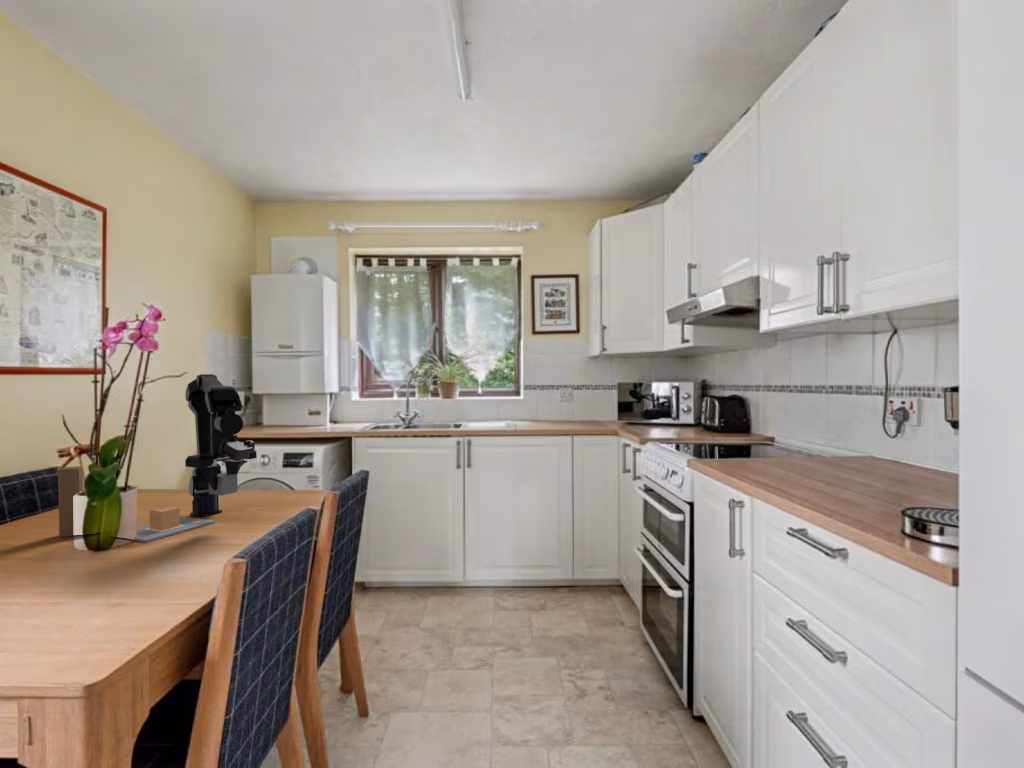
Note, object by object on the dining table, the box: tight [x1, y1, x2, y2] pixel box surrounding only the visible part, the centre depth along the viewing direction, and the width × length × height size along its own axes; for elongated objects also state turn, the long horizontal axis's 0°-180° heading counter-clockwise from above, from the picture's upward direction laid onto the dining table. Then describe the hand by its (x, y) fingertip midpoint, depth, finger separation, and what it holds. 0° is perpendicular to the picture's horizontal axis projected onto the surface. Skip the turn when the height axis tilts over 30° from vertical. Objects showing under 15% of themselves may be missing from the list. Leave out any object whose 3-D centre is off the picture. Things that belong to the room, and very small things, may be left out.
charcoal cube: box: [209, 472, 238, 496], centre depth 156 cm, size 5×5×5 cm
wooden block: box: [57, 465, 84, 539], centre depth 151 cm, size 9×4×18 cm, turn 115°
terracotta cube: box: [149, 505, 180, 530], centre depth 155 cm, size 5×5×5 cm
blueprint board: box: [133, 515, 216, 543], centre depth 155 cm, size 20×14×1 cm
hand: (223, 488), depth 156 cm, fingers closed on charcoal cube, 5 cm apart
